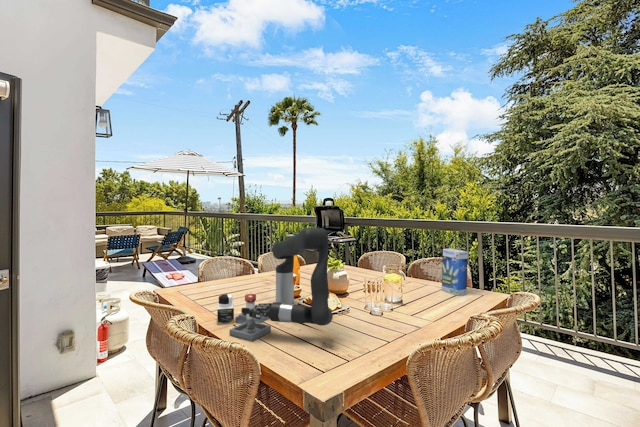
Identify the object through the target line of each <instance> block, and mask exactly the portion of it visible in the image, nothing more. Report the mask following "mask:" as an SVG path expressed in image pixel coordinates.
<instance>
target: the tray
mask: <svg viewBox="0 0 640 427" xmlns="http://www.w3.org/2000/svg"><path fill="white" fill-rule="evenodd" d="M271 332H272V326H271V325H269V324H265V323H262V322H261V323H257V322H255V329H254V330H247V329H246V322H245V323H243V324H239V325H237V326H234V327H232V328H230V329H229V336H230V337H233V338H237V339H241V340H244V341H249V342H251V343H252V342H254V341H257V340H258V339H260V338H262V337H264V336H266V335H267V334H269V333H271Z"/></svg>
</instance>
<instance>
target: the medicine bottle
mask: <svg viewBox="0 0 640 427" xmlns="http://www.w3.org/2000/svg"><path fill="white" fill-rule="evenodd" d="M234 307H235V306H234V303H233V295H232V294H229V293H223V294H220V295H219V296H218V304H217V309H216V310H217V314H216V316H217V325H223V324H224V325H225V324H234V322H235V308H234Z"/></svg>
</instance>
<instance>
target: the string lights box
mask: <svg viewBox="0 0 640 427" xmlns="http://www.w3.org/2000/svg"><path fill="white" fill-rule="evenodd" d="M468 260H469V251H465V250H461V249H455V248H451V247H450V248H449V247H448V248H442V264H441V266H442V270H441V291H442V292H445V293H449V294H451V295H454V296H457V297H459V296H465V295H467V290H468V289H467V286H468V284H467V282H468Z"/></svg>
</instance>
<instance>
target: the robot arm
mask: <svg viewBox="0 0 640 427" xmlns="http://www.w3.org/2000/svg"><path fill="white" fill-rule="evenodd" d="M306 250H307V251H310V250H312V251H313V250H314V251H318V259H317V263H316V266H315V267H314V268H313V271H312V274H311V277H310V291H311V306H308V305H303V304H294V303H295V284H294V267H295V266H294V265H295V264H294V263H295V256H298V255H301V254H303V253H304V252H305V251H306ZM271 251H272V255H273V257H274V258H275V259H276V260H284V261H283V262H282V263H280V264H278V265H276V267H275V301H273V302H270V303H269V302H267V303H258V304H255V308H251V309H250V308H246V307H242V308H240V309H241V314H249V317H252V318H256V319H261V317H269V320H270V321H271V322H276V323H277V322H278V323H286V324H287V323H288V324H289V323H292V324H293V323H294V324H312V325H316V326H317V325H318V326H328V325H330V323H331V322H332V320H333V318H334V316H333V312H332V311H331V309H330V308H329V298H330V288H329V280H328V279H329V278H328V267H329V266H328V262H329V235H328V232H327V230H326V229H325V228H322V227H306V228H305V227H304V228H303V229H302V230H300V231H299V232H298V233H297V234H294V235H292V236H290V237H288V238H285V239H284V240H282V241H276V242H275V243H274V244H273V246H272V250H271Z"/></svg>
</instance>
